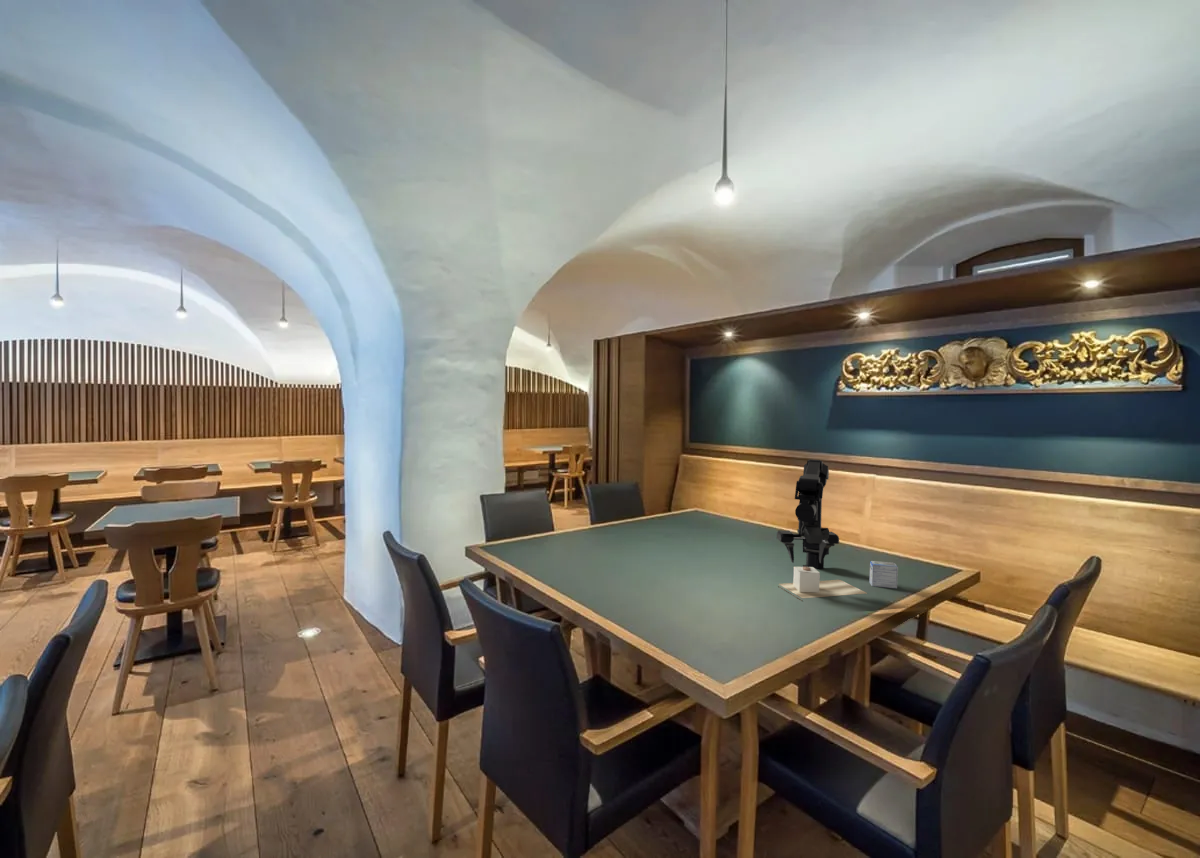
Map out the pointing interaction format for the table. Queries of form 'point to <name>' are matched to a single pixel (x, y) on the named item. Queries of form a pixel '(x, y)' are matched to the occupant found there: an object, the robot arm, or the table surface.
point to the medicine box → (883, 574)
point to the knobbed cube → (806, 579)
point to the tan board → (825, 589)
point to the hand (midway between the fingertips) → (806, 562)
